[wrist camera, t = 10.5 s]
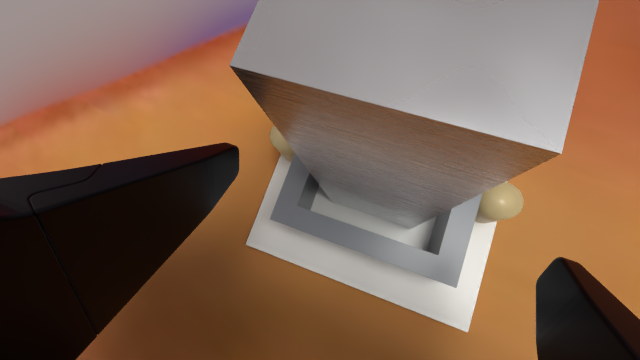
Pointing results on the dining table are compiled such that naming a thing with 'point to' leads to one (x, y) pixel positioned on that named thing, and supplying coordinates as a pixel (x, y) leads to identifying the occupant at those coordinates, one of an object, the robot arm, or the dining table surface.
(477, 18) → the grey metal square bar
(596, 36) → the dining table surface
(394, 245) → the housing plate
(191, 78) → the dining table surface
